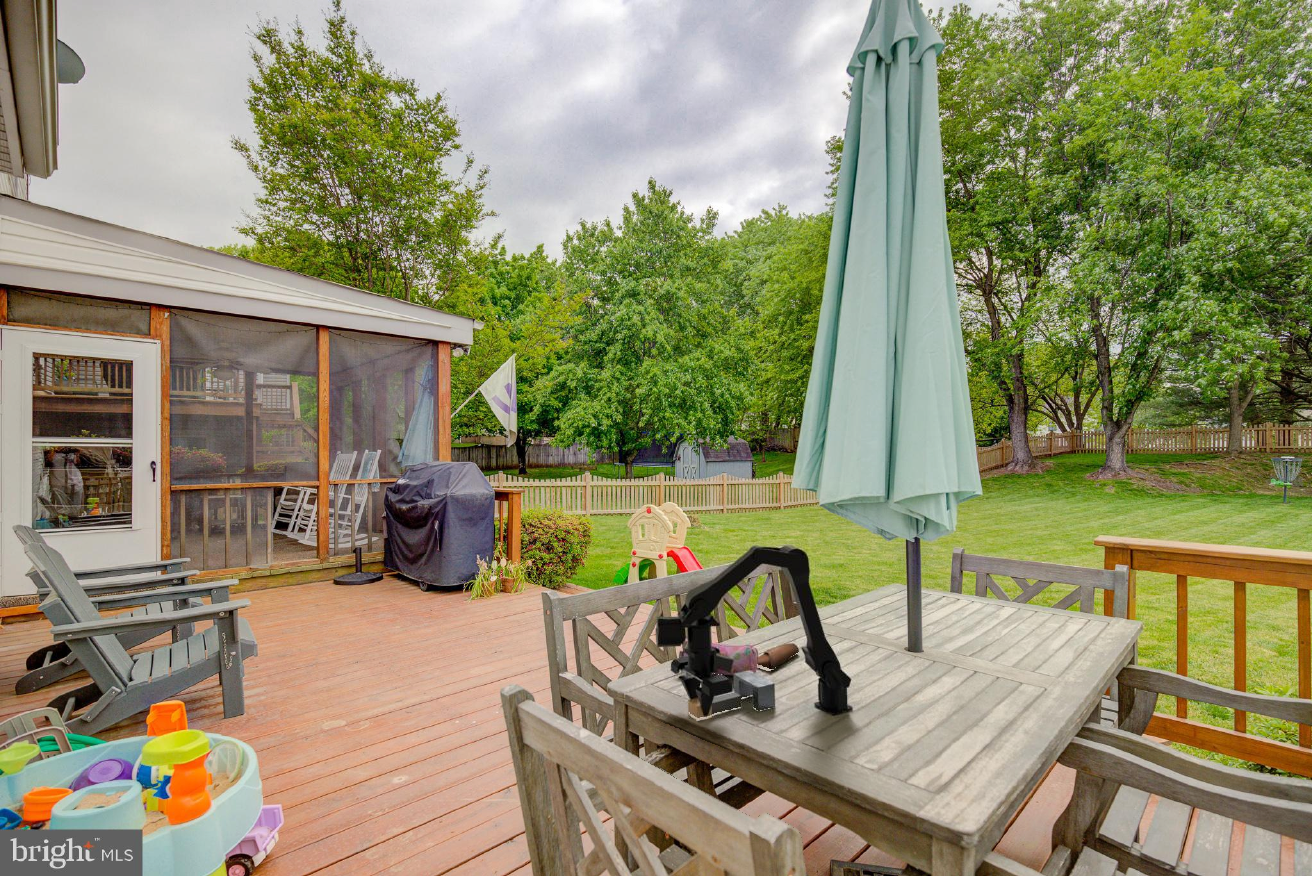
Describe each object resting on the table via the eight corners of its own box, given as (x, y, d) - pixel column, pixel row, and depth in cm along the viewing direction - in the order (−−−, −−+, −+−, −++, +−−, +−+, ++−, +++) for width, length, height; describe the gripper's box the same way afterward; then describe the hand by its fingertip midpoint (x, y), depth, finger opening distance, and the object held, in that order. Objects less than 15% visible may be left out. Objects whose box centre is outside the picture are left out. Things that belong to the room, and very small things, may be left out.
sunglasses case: (774, 649, 176) (783, 633, 175) (792, 665, 172) (802, 648, 171) (746, 666, 162) (755, 648, 160) (765, 683, 158) (775, 665, 157)
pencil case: (678, 674, 158) (677, 641, 158) (690, 663, 166) (689, 632, 167) (752, 685, 149) (751, 651, 149) (760, 673, 157) (759, 641, 157)
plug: (743, 709, 134) (742, 694, 134) (697, 722, 128) (696, 706, 128) (733, 703, 138) (733, 689, 138) (688, 715, 132) (688, 700, 132)
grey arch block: (775, 707, 135) (774, 683, 135) (758, 712, 132) (758, 687, 133) (750, 693, 144) (749, 670, 144) (734, 697, 141) (733, 673, 142)
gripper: (751, 650, 127) (753, 720, 126) (706, 629, 144) (708, 691, 143) (710, 658, 122) (711, 731, 121) (669, 636, 138) (670, 700, 138)
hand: (701, 712), depth 131 cm, fingers closed on plug, 4 cm apart
